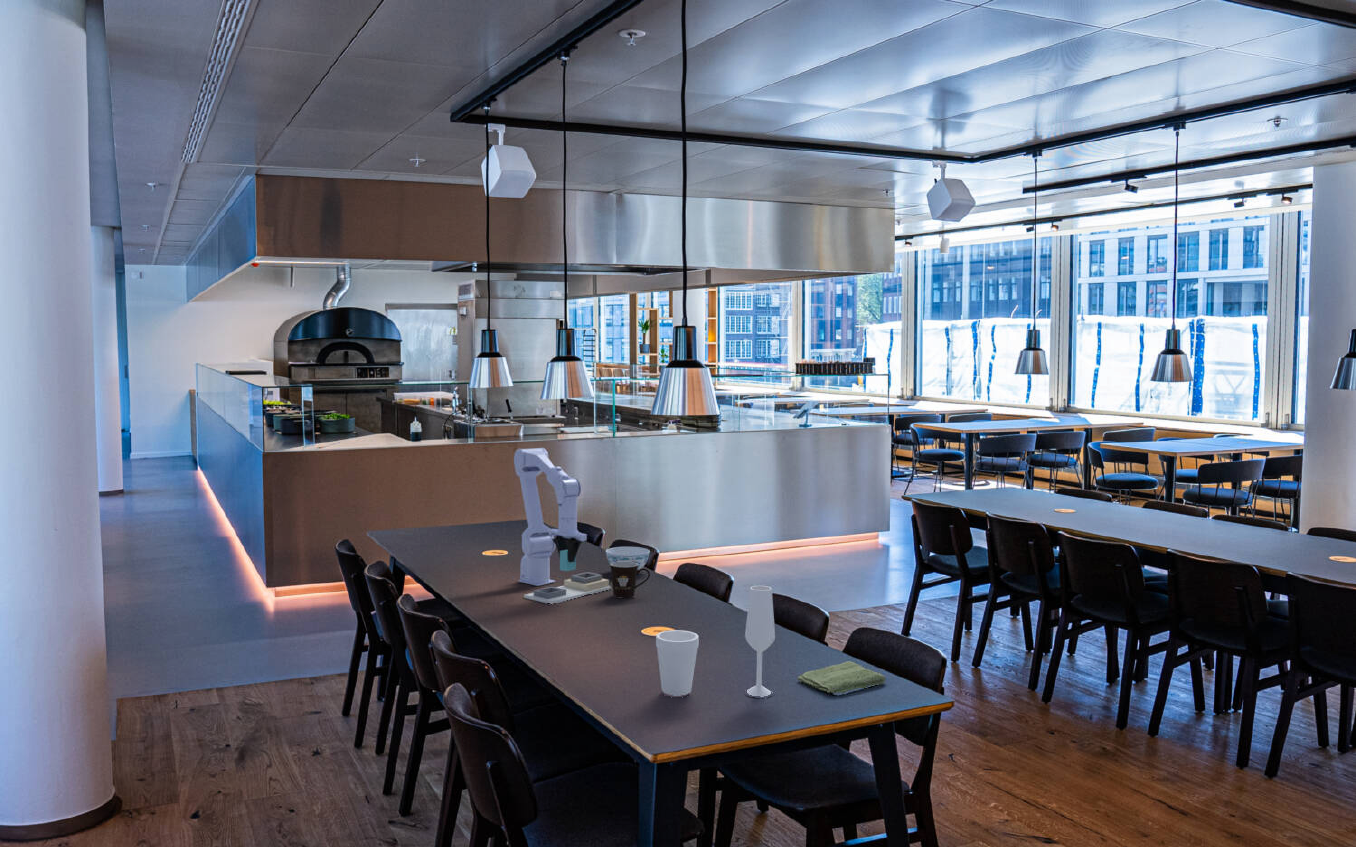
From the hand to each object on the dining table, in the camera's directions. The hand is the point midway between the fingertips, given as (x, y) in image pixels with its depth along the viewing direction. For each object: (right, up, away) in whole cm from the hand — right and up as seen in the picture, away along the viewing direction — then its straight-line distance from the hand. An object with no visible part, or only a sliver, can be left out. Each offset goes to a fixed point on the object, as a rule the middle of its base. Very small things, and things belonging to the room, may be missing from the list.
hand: (567, 561), depth 318 cm
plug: (0, -3, 0) cm, 3 cm away
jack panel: (0, -10, +1) cm, 10 cm away
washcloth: (+73, -18, -81) cm, 110 cm away
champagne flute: (+53, -18, -89) cm, 105 cm away
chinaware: (+17, -9, +32) cm, 38 cm away
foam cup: (+34, -18, -90) cm, 97 cm away
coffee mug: (+19, -11, -1) cm, 22 cm away
